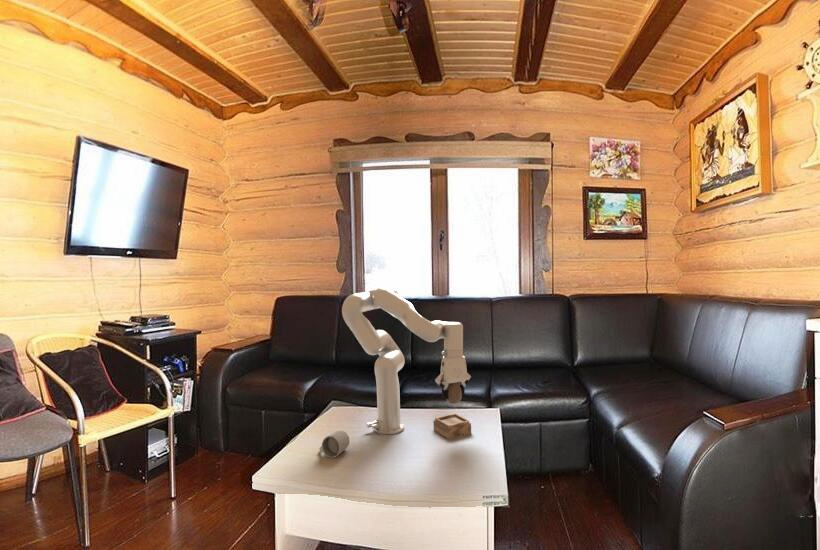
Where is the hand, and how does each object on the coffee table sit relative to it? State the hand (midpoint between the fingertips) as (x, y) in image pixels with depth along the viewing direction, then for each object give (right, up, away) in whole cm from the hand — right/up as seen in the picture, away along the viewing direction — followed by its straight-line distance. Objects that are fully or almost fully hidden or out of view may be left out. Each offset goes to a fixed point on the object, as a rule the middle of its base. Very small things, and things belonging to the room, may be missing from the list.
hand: (453, 397), depth 163 cm
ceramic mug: (-46, -17, -13) cm, 50 cm away
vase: (0, -2, 0) cm, 2 cm away
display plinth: (0, -15, +3) cm, 15 cm away
